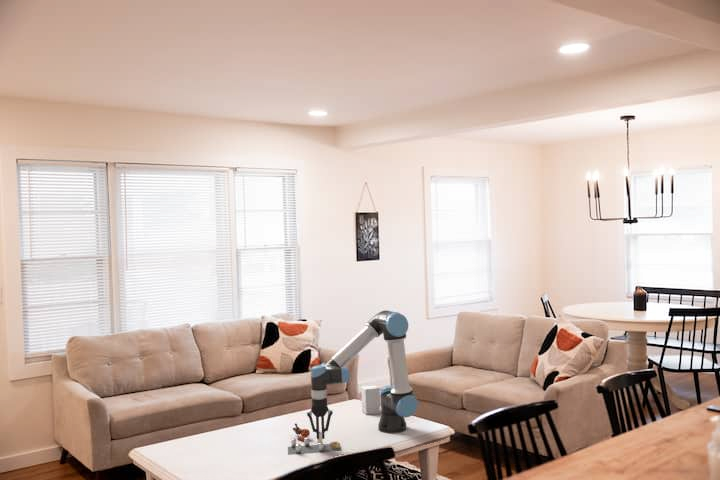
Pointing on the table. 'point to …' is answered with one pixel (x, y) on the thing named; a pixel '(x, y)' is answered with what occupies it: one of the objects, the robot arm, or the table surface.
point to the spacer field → (306, 440)
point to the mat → (313, 449)
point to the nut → (334, 445)
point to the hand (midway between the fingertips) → (320, 445)
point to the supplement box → (370, 399)
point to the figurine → (301, 432)
